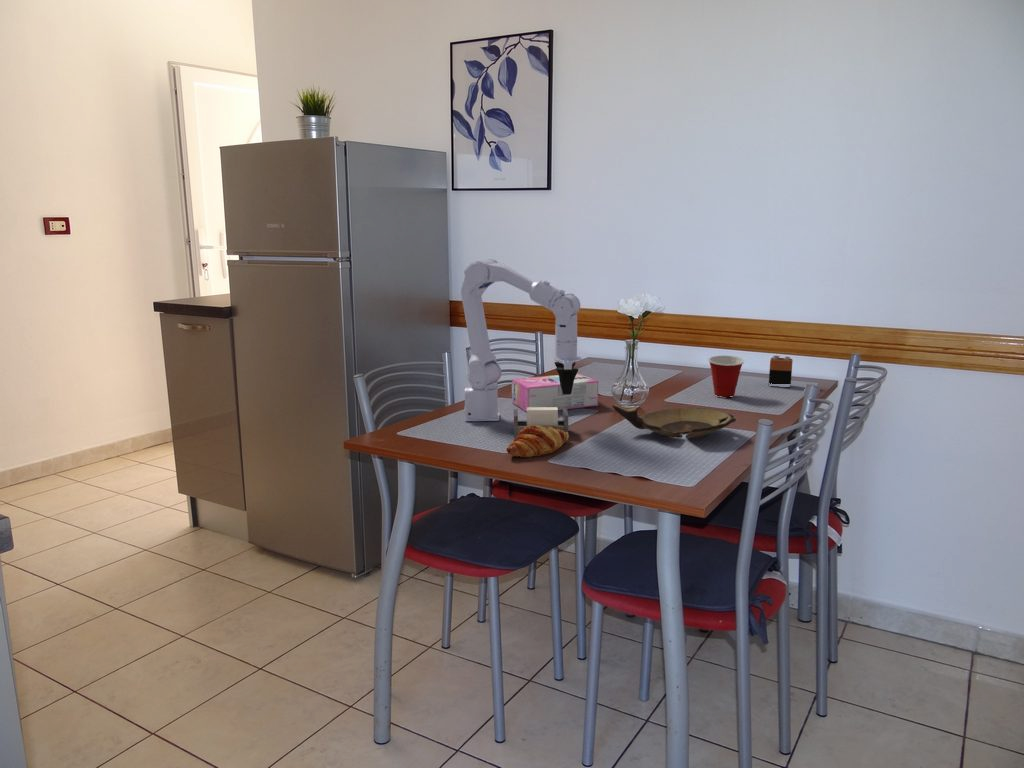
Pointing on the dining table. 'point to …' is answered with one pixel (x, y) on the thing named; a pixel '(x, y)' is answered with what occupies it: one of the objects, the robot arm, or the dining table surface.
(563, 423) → the grey metal bracket
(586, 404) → the gum box
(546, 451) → the croissant
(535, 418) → the cream rectangular block
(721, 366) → the plastic cup
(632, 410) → the oil lamp
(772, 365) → the battery
